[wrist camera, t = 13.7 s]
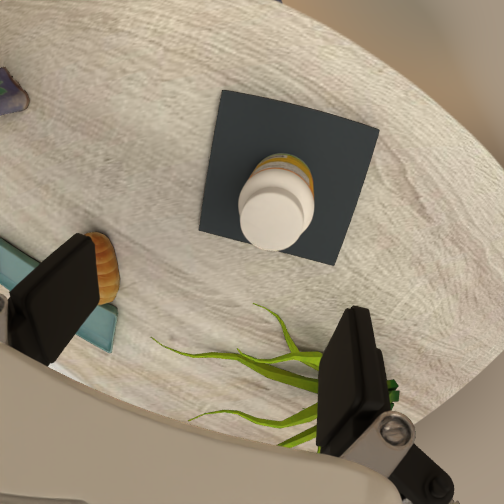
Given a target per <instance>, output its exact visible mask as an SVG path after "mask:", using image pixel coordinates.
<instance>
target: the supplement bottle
mask: <svg viewBox="0 0 504 504" xmlns="http://www.w3.org/2000/svg"><path fill="white" fill-rule="evenodd" d="M238 208H239V214H240V225H241V229H242V232H243V234H244V235H245V237H246V238H247V240H248V241H249V242H250V243H252V244H253V245H254V246H256V247H258V248H260V249H263V250H267V251H278V250H283V249H285V248H288V247H289V246H291V245H292V244H294V243H295V242H296V241H297V239H298V238H299V236H300V235H301V234H302V233H303V232H304V231H305V230H306V229H307V227H308V226H309V224H310V222H311V220H312V217H313V214H314V190H313V179H312V175H311V172H310V170H309V168H308V167H307V165H306V164H305V163H304V162H303V161H302V160H301V159H299V158H298V157H296V156H293V155H290V154H285V153H278V154H273V155H270V156H268V157H266V158H265V159H263V160H262V161H261V162H260V163H259V164H258V165H257V167H256V168H255V170H254V171H253V173H252V174H251V176H250V177H249V179H248V180H247V182H246V183H245V185H244V187H243V189H242V191H241V193H240V196H239V202H238Z"/></svg>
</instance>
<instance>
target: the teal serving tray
mask: <svg viewBox="0 0 504 504" xmlns="http://www.w3.org/2000/svg"><path fill="white" fill-rule="evenodd" d="M39 264H40V263H38V262H37V261H35V260H34V259H32V258H30V257H29V256H27V255H26V254H24V253H22V252H21V251H19V250H18V249H16V248H15V247H13V246H12V245H10V244H9V243H7V242H6V241H4V240H3V239H1V238H0V284H1V285H2V286H4V287H5V288H7V289H8V290H9V291H11V290H12V289H13V288H14V287H15V286H16V285H17V284H18V283H19V282H20V281H22V280H23V279H24V278H25V277H26V276H27V275H28V274H29V273H30V272H31V271H32V270H34V269H35V268H36V267H37V266H38V265H39ZM117 317H118V311H117V308H116V307H114V306H112V305H111V304H109V303H106V304H102V305H97V307H96V308H95V309H94V311H93V312H92V313H91V314H90V316H89V317H88V318H87V319H86V321H85V322H84V323H83V325H82V326H81V327H80V328H79V330H78V331H77V332H76V335H78V336H79V337H81V338H83V339H84V340H86V341H88V342H90V343H91V344H93V345H95V346H97V347H99V348H100V349H102V350H104V351H106V352H108V353H112V349H113V340H114V334H115V328H116V323H117Z"/></svg>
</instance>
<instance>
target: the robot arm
mask: <svg viewBox="0 0 504 504" xmlns="http://www.w3.org/2000/svg"><path fill="white" fill-rule="evenodd" d="M9 293H10V298H9V299H8V300H7V298H6V296H4V295H3V294H0V504H460V503H459V501H456V502H454V500H453V499H452V498H453V495H454V484H453V482H452V479H451V478H450V476H449V475H448V474H447V473H446V472H445V471H443V469H441V468H440V467H439V466H438V465H437V464H436V463H435V462H434V461H433V460H431V459H430V458H429V457H428V456H427V455H426V454H425V453H424V452H423V451H421V449H419V448H418V447H417V446H416V445H415V444H414V441H415V438H416V431H415V427H414V425H413V423H412V421H411V420H410V419H409V418H408V417H407V416H405V415H404V414H402V413H400V412H397V411H391V405H390V398H389V391H388V385H387V379H386V373H385V367H384V361H383V355H382V352H381V350H380V349H378V348H376V344H375V338H374V333H373V327H372V322H371V317H370V312H369V309H367V308H363V307H358V306H352V307H351V309H348V308H346V309H345V311H344V313H343V315H342V317H341V319H340V321H339V323H338V326H337V328H336V330H335V332H334V334H333V336H332V338H331V340H330V342H329V344H328V346H327V347H326V349H325V351H324V353H323V355H322V357H321V359H320V363H319V372H318V408H317V430H316V445H317V446H320V453H314V452H309V451H304V450H298V449H292V448H287V447H282V446H276V445H272V444H267V443H262V442H258V441H253V440H248V439H244V438H240V437H235V436H231V435H227V434H223V433H219V432H216V431H212V430H208V429H205V428H201V427H198V426H194V425H191V424H188V423H184V422H181V421H178V420H175V419H172V418H169V417H165V416H162V415H160V414H157V413H154V412H151V411H148V410H145V409H143V408H140V407H137V406H134V405H132V404H129V403H127V402H124V401H122V400H119V399H117V398H114V397H112V396H109V395H107V394H105V393H102V392H100V391H98V390H95V389H93V388H91V387H88V386H86V385H84V384H82V383H80V382H77V381H75V380H73V379H71V378H69V377H67V376H65V375H63V374H61V373H59V372H57V371H55V370H53V369H51V368H49V367H48V366H49V364H50V363H54V362H55V361H56V359H57V358H58V357H59V355H60V354H61V352H62V351H63V350H64V348H65V347H66V346H67V344H68V343H69V342H70V340H71V339H72V338H73V336H74V335H75V334H76V332H77V331H78V330H79V328H80V327H81V326H82V325H83V323H84V322H85V321H86V319H87V318H88V317H89V316H90V314H91V313H92V312H93V311H94V309H95V308H96V307H97V305H98V303H99V300H100V293H99V285H98V275H97V265H96V253H95V244H94V242H93V241H92V239H91V237H89V236H86V235H83V234H79V233H76V234H75V235H73V236H72V237H71V238H70V239H69V240H67V241H66V242H65V243H64V244H63V245H61V246H60V247H59V248H58V249H57V250H55V251H54V252H53V253H52V254H51V255H50V256H48V257H47V258H46V259H45V260H44V261H43V262H41V263H40V264H39V265H38V266H37V267H36V268H35V269H34V270H32V271H31V272H30V273H29V274H28V275H27V276H26V277H25V278H24V279H23V280H22V281H20V282H19V283H18V284H17V285H16V286H15V287H14V288H13V289H12V290H11V291H10V292H9Z"/></svg>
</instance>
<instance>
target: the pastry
mask: <svg viewBox="0 0 504 504" xmlns="http://www.w3.org/2000/svg"><path fill="white" fill-rule="evenodd" d="M85 235H86V236H89V237H91V239H92V241H93V242H94V244H95V253H96V265H97V275H98V285H99V293H100V300H99V303H98V305H102V304H106V303H109V302H112V301H113V300H114V299H115V297H116V294H117V292H118V290H119V281H120V276H119V270H118V264H117V261H116V255H115V251H114V248H113V246H112V245H111V243H110V241H109V239H108V237H106V236H105V235H104V234H101V233H98V232H90V233H86V234H85Z"/></svg>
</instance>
